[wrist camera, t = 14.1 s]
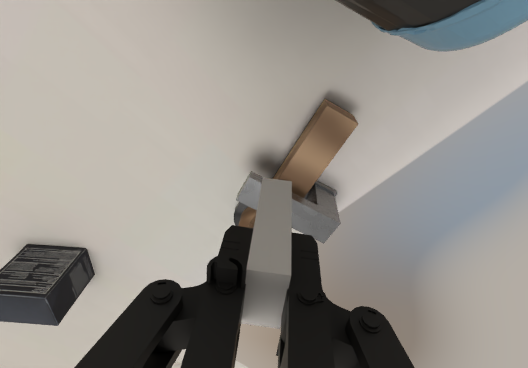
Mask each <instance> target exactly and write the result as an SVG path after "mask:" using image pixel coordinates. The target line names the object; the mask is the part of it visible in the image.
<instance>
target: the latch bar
mask: <svg viewBox="0 0 528 368" xmlns="http://www.w3.org/2000/svg"><path fill="white" fill-rule="evenodd" d="M357 125H358V123H357V121H356V119H355V117H354V116H353V115H352V114H350V113H348V112H347V111H345V110H343V109H341V108H340V107H338V106H336V105H335V104H333V103H331V102H330V101H328V100H326V99H324V101H323V102H322V104H321V105H320V107H319V108H318V110H317V111H316V113H315V114H314V116H313V117H312V119H311V121H310V122H309V124H308V125H307V127H306V128H305V130H304V131H303V133H302V134H301V136H300V137H299V139H298V141H297V142H296V144H295V145H294V147H293V148H292V150H291V151H290V153H289V154H288V156H287V157H286V159H285V161H284V162H283V164H282V165H281V167H280V168H279V170H278V171H277V173H276V174H275V176H274V177H273V179H278V180H285V181H292V192H293V193H295V194H297V195H299V196H301V197H303V198H304V197H305V196H306V194H307V193H308V191H309V190H310V189H311V187H312V186H313V185H314V183H315V182H316V181H317V179H318V178H319V177H320V175H321V174H322V172H323V171H324V170H325V168H326V167H327V166H328V164H329V163H330V162H331V160H332V159H333V158H334V156H335V155H336V153H337V152H338V151H339V149H340V148H341V147H342V145H343V144H344V143H345V141H346V140H347V138H348V137H349V136H350V134H351V133H352V132H353V130H354V129H355V128H356V126H357ZM256 212H257V210H255V209H253V208H251V207H247V208H246V209H245V210H244V211H243V212H242V214H241V217H240V221H239V225H238V226H241V227H249V228H254V224H255V218H256Z"/></svg>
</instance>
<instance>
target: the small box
mask: <svg viewBox="0 0 528 368" xmlns="http://www.w3.org/2000/svg"><path fill="white" fill-rule="evenodd" d="M94 275H95V274H94V270H93V267H92V264H91V261H90V258H89V255H88V252H87V249H86V248H73V247H58V246H43V245H28V244H27V245H26V246H25V247H24V248H23V249H22V250H21V251H20V252H19V253H18V254H17V255H16V256H15V257H14V258H13V259H11V260H10V261H9V262H8V263H7V264H6V265H5V266H4V267H3V268H2V269H1V270H0V321H3V322H16V323H29V324H42V325H54V326H58V325H59V323H60V322H61V320H62V319H63V318H64V316H65V315H66V313H67V312H68V311H69V309H70V308H71V306H72V305H73V304H74V302H75V301H76V299H77V298H78V297H79V295H80V294H81V293H82V291H83V290H84V288H85V287H86V286H87V284H88V283H89V282H90V280H91V279H92V278H93V276H94Z"/></svg>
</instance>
